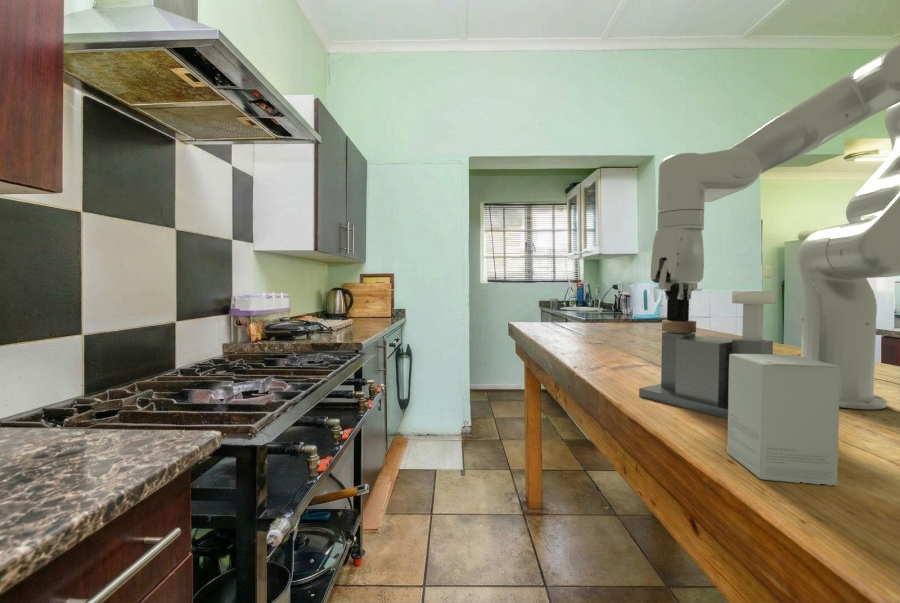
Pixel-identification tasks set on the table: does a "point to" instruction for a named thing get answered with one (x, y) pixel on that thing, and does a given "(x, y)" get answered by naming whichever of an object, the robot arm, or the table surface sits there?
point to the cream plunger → (753, 311)
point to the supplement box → (784, 417)
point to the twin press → (699, 371)
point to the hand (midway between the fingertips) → (677, 320)
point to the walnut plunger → (679, 326)
